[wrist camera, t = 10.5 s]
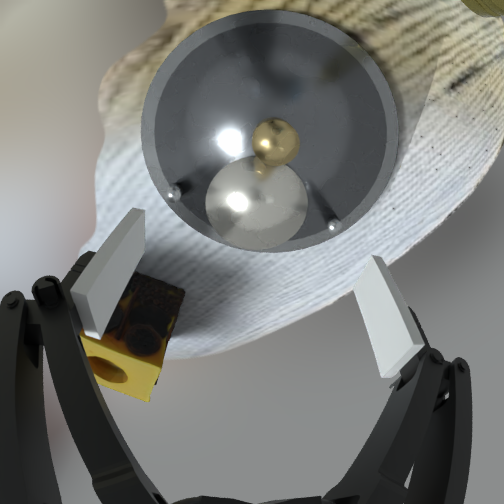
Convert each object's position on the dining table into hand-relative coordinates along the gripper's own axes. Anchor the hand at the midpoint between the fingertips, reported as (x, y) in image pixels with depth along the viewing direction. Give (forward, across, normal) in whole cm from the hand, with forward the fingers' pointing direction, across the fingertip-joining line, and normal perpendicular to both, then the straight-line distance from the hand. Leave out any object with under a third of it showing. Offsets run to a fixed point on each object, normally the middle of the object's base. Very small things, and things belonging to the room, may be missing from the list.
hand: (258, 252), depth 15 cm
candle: (+9, -11, -16) cm, 21 cm away
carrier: (+9, 0, +5) cm, 10 cm away
